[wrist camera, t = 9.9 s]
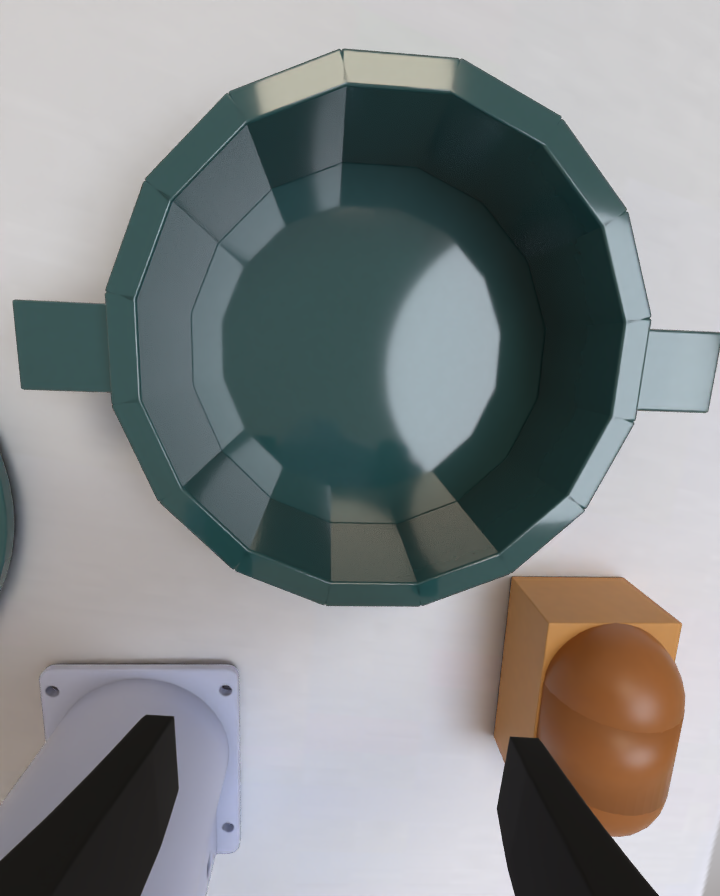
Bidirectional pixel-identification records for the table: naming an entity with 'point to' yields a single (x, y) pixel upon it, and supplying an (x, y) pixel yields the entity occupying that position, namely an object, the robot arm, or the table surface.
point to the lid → (5, 522)
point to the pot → (374, 330)
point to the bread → (595, 691)
